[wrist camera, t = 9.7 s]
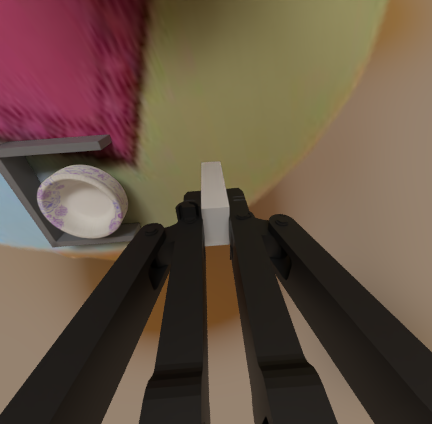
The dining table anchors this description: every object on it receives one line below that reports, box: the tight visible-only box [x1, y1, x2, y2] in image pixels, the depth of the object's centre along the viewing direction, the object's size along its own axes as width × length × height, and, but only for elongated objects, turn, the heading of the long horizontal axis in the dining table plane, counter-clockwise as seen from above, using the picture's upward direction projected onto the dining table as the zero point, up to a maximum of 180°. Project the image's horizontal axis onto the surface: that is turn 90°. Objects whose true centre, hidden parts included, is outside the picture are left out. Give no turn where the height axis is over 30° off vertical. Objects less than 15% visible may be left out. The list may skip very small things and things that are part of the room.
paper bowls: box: [37, 165, 128, 239], centre depth 42 cm, size 15×15×8 cm
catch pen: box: [0, 135, 141, 247], centre depth 43 cm, size 23×20×5 cm
